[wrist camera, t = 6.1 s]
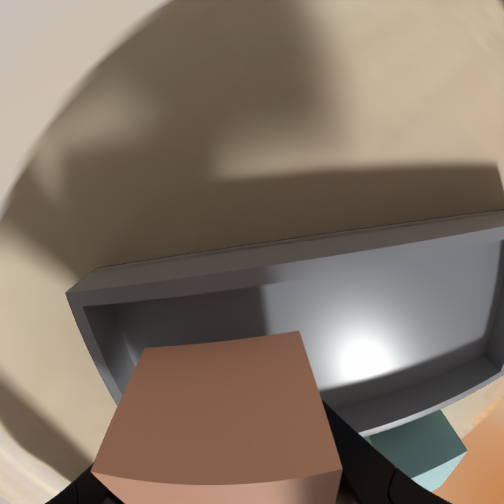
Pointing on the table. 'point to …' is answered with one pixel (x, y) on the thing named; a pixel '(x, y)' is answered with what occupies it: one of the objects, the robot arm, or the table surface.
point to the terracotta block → (221, 427)
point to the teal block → (422, 449)
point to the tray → (324, 311)
